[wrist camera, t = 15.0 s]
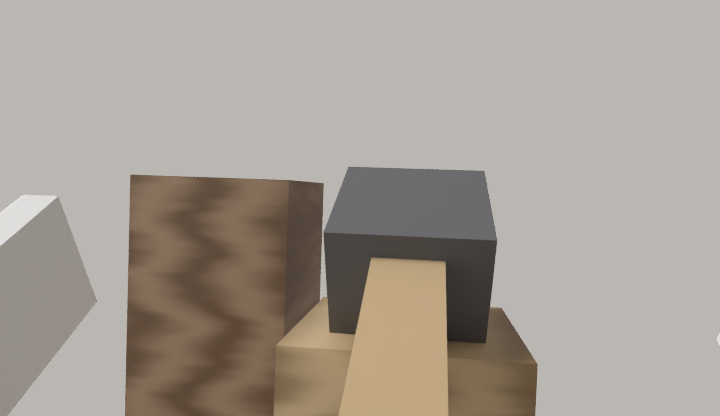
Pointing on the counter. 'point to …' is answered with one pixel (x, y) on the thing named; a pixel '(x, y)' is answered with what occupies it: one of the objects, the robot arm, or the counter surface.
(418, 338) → the grey and tan block
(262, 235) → the walnut post
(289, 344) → the oak step
